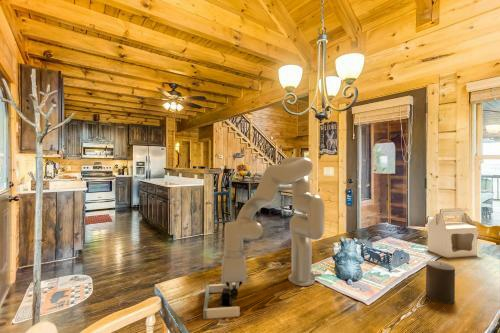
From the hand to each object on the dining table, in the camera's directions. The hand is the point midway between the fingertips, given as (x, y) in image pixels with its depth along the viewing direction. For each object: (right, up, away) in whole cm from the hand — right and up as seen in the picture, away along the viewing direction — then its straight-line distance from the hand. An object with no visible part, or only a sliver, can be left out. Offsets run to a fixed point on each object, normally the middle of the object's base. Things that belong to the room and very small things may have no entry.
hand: (234, 297), depth 101 cm
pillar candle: (+87, -2, +3) cm, 87 cm away
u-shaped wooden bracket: (-5, -2, -1) cm, 5 cm away
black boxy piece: (-3, -3, +2) cm, 5 cm away
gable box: (+134, -1, +55) cm, 145 cm away
